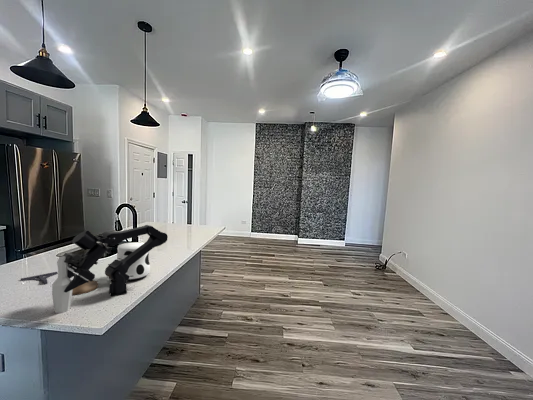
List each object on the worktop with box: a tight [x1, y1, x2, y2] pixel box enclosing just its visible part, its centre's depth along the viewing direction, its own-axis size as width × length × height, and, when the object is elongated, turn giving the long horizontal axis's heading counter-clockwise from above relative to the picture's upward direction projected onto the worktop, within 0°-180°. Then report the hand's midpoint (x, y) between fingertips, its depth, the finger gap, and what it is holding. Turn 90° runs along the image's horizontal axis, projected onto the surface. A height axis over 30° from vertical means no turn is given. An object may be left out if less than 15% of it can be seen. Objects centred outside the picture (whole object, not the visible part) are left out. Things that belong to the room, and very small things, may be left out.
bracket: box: [20, 271, 58, 285], centre depth 127 cm, size 14×15×3 cm
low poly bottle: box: [51, 255, 73, 314], centre depth 99 cm, size 6×6×22 cm
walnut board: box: [72, 279, 99, 296], centre depth 119 cm, size 14×14×2 cm
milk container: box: [116, 241, 151, 281], centre depth 137 cm, size 17×17×18 cm
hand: (60, 288), depth 98 cm, fingers open, 9 cm apart
